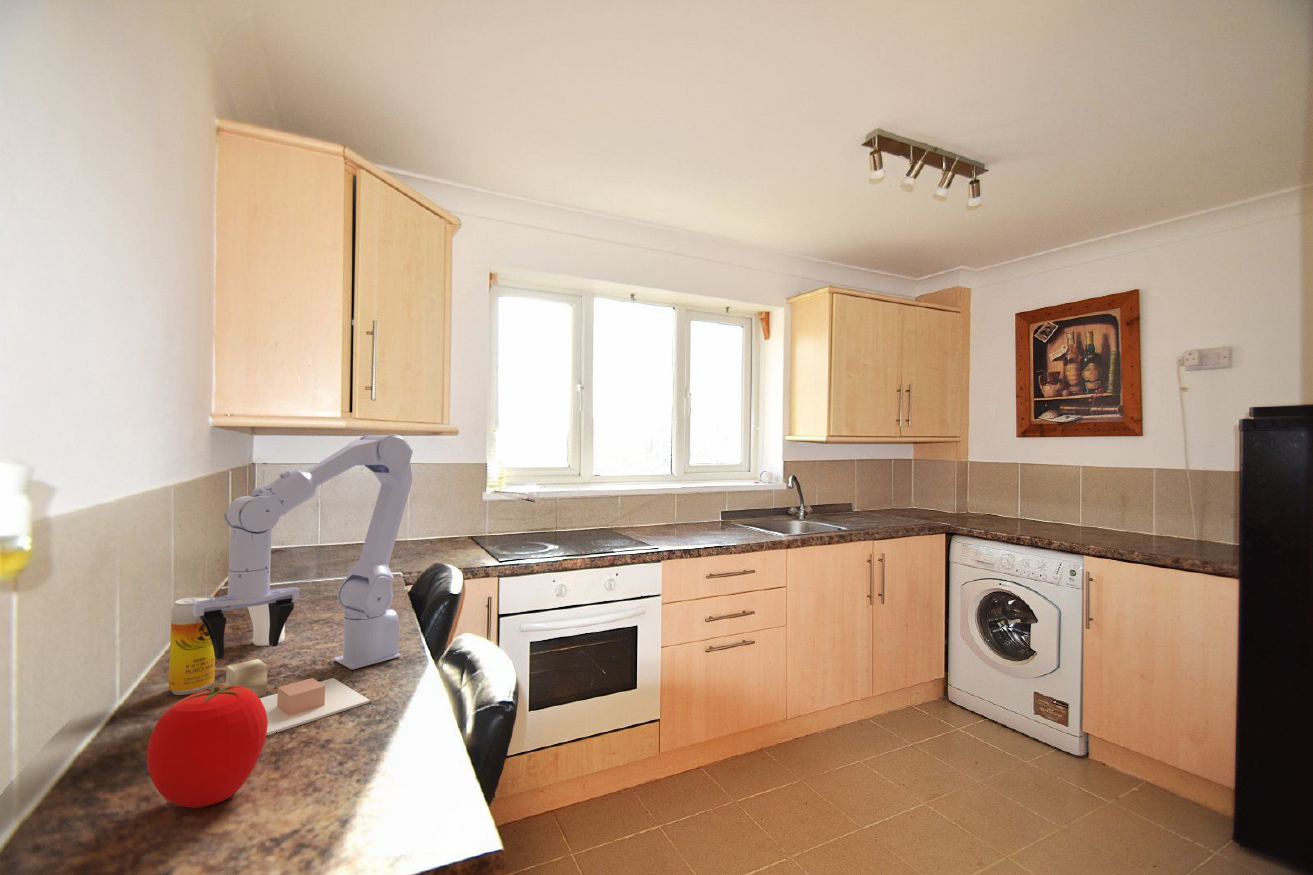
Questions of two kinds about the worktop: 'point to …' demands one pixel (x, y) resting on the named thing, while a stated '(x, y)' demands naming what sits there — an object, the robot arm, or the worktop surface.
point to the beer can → (190, 650)
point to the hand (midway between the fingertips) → (246, 650)
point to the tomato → (207, 745)
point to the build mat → (335, 702)
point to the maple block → (248, 676)
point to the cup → (262, 625)
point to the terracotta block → (301, 696)
